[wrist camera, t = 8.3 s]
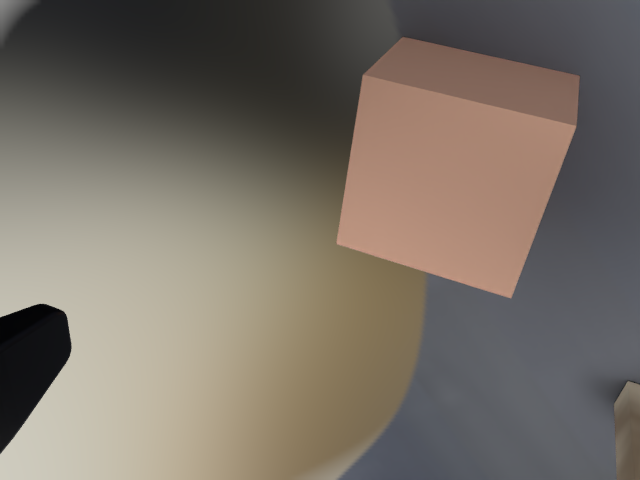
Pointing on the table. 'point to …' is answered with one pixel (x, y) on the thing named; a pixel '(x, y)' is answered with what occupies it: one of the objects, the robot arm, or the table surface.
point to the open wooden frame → (628, 432)
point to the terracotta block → (455, 161)
